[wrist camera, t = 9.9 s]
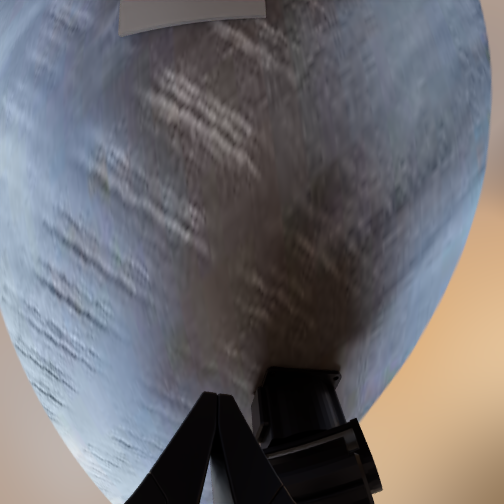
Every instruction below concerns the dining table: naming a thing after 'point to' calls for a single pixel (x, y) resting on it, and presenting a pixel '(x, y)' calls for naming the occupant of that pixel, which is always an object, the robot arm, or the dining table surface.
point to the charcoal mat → (182, 13)
